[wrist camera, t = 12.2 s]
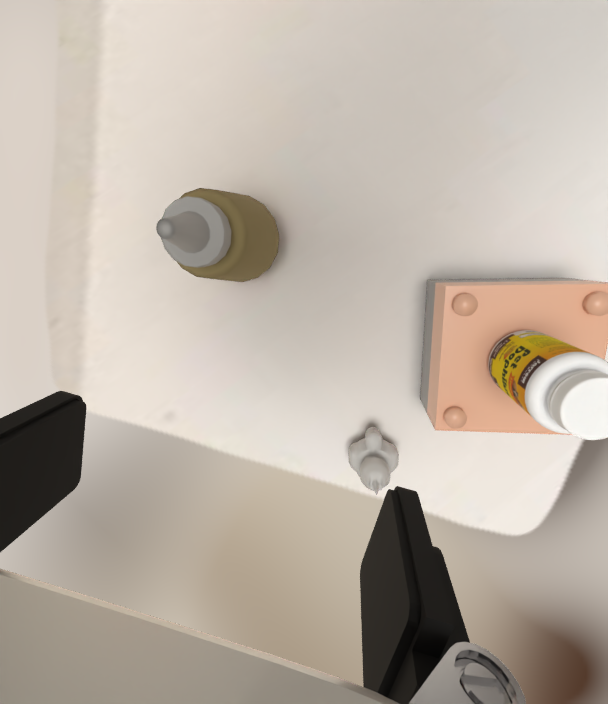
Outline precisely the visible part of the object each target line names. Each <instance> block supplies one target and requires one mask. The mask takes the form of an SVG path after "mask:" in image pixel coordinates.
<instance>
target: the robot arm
mask: <svg viewBox="0 0 608 704" xmlns="http://www.w3.org/2000/svg"><path fill="white" fill-rule="evenodd" d="M85 418H86V404H85V403H84V402H83V400H82V398H81V397H80V396H78V395H74V394H71V393H67V392H64V391H59V392H56V393H54V394H52V395H50V396H47V397H45V398H43V399H41V400H39V401H37V402H35V403H32V404H30V405H28V406H26V407H24V408H22V409H20V410H17V411H16V412H13V413H11V414H9V415H7V416H5V417H3V418H0V552H1V551H2V550H4V549H5V548H6V547H7V546H8V545H9V544H11V543H12V542H13V541H14V540H15V539H16V538H18V537H19V536H20V535H21V534H22V533H24V532H25V531H26V530H27V529H28V528H29V527H31V526H32V525H33V524H34V523H35V522H36V521H37V520H39V519H40V518H41V517H42V516H44V515H45V514H46V513H47V512H48V511H49V510H51V509H52V508H53V507H54V506H55V505H56V504H57V503H59V502H60V501H61V500H62V499H64V498H65V497H66V496H67V495H68V494H69V493H70V492H72V491H73V490H74V489H75V488H76V487H77V485H78V483H79V481H80V478H81V467H82V455H83V442H84V430H85ZM360 588H361V619H362V651H363V681H364V682H363V683H364V687H362V686H359V685H356V684H354V683H351V682H349V681H347V680H344V679H342V678H339V677H336V676H333V675H330V674H327V673H324V672H322V671H318V670H316V669H313V668H310V667H307V666H304V665H301V664H298V663H295V662H292V661H289V660H287V659H284V658H281V657H278V656H275V655H272V654H269V653H266V652H263V651H259V650H256V649H253V648H250V647H247V646H244V645H241V644H238V643H235V642H232V641H228V640H225V639H222V638H219V637H216V636H213V635H210V634H207V633H203V632H200V631H197V630H194V629H191V628H188V627H185V626H182V625H179V624H176V623H172V622H169V621H166V620H163V619H160V618H157V617H153V616H150V615H147V614H144V613H141V612H138V611H134V610H131V609H128V608H125V607H121V606H118V605H115V604H112V603H109V602H106V601H103V600H99V599H96V598H93V597H90V596H87V595H84V594H80V593H77V592H74V591H71V590H68V589H64V588H61V587H58V586H55V585H51V584H48V583H45V582H41V581H39V580H35V579H32V578H29V577H26V576H22V575H19V574H16V573H13V572H9V571H6V570H3V569H0V704H526V701H525V697H524V695H523V693H522V690H521V688H520V686H519V684H518V682H517V681H516V679H515V678H514V676H513V675H512V673H511V672H510V671H509V669H508V668H507V667H506V666H505V665H504V664H503V663H502V662H501V661H500V660H499V659H498V658H497V657H496V656H494V655H493V654H491V653H490V652H489V651H488V650H486V649H484V648H482V647H480V646H478V645H477V644H473V643H470V642H469V638H468V635H467V632H466V628H465V625H464V622H463V619H462V616H461V612H460V609H459V606H458V603H457V600H456V597H455V593H454V590H453V586H452V583H451V580H450V577H449V574H448V570H447V567H446V564H445V561H444V557H443V555H442V552H441V550H440V549H439V548H437V547H433V546H432V543H431V539H430V536H429V532H428V529H427V525H426V522H425V518H424V514H423V511H422V507H421V504H420V500H419V497H418V494H417V492H416V491H412V490H409V489H405V488H402V487H398V486H397V487H396V488H395V489H394V490H390V489H389V490H388V491H387V494H386V496H385V499H384V502H383V505H382V507H381V510H380V513H379V516H378V519H377V521H376V525H375V527H374V530H373V533H372V535H371V538H370V541H369V544H368V546H367V549H366V552H365V555H364V558H363V561H362V565H361V570H360Z"/></svg>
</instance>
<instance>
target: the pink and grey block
mask: <svg viewBox="0 0 608 704" xmlns="http://www.w3.org/2000/svg"><path fill="white" fill-rule="evenodd" d="M522 330H532V331H538V332H541V333H544V334H546V335H548V336H551V337H553V338H555V339H558V340H560V341H563V342H565V343H567V344H570V345H572V346H575V347H577V348H579V349H582V350H584V351H586V352H589V353H591V354H594V355H596V356H598V357H600V358H602V359H604V360H605V355H606V349H607V344H608V282H598V281H589V280H579V279H570V278H526V279H459V280H427V292H426V309H425V325H424V342H423V358H422V375H421V391H420V400H421V402H422V404H423V406H424V408H425V410H426V412H427V414H428V416H429V418H430V420H431V422H432V424H433V427H434V429H435V430H445V431H475V432H505V433H536V434H563V433H557V432H554V431H551V430H549V429H547V428H545V427H543V426H541V425H540V424H539V423H538V422H536V421H535V420H534V419H533V418H532V417H531V416H530V415H529V414H528V413H527V412H526V411H524V410H523V409H522V408H521V407H520V406H519V405H518V404H517V403H516V402H515V401H513V400H512V399H511V398H510V397H509V396H508V395H507V394H506V393H505V392H504V391H503V390H502V389H500V388H499V387H498V386H497V385H496V384H495V382H494V381H493V379H492V378H491V376H490V373H489V368H488V361H489V356H490V354H491V351H492V350H493V348H494V346H495V345H496V344H497V343H498V342H499V341H500V340H501V339H502V338H504V337H505V336H507V335H509V334H511V333H514V332H517V331H522ZM566 435H572V434H566Z"/></svg>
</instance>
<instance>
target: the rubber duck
mask: <svg viewBox="0 0 608 704" xmlns="http://www.w3.org/2000/svg"><path fill="white" fill-rule="evenodd" d="M398 456H399V454H398V451H397V448H396V447H395V446H394V445H393V444H391V443H388V442H387V441H386V440H384V439H382V436H381V433H380V431H379V430H378V429H377V428H376V427H370V428H368V429H367V431H366V433H365V438H364V439H361V440H359V441H358V442H356V443H353V444H352V445H351V446H350V448H349V464H350V466H351V467H352V468H353V469H354V470H355V471H356V472H357V474H358V475H359V476H360V479H361V482H362V483H363V484H364V485H365V486H366V487H367V488H368V489H370V490H373V491H375V493H376V494H377V493H378V491H379V490H382V488H383V487H385V486H386V485H387V484H388V483H389V481H390V473H391V472H392V471H394V470H395V469H396V467H397V466H398Z"/></svg>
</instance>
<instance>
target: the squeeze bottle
mask: <svg viewBox="0 0 608 704" xmlns="http://www.w3.org/2000/svg"><path fill="white" fill-rule="evenodd" d="M157 233H158V234H159V236H160V237H161V239H162V242H163V245H164V248H165V249H166V251H167V252H168V253H169V254H170V256H171V257H172V258H173V259H174V260H175V261H177V263H178V264H179V265H180V266H181V268H183V269H184V270H186V271H188V272H189V273H191V274H193V275H195V276H196V277H203V278H210V279H219V280H229V281H238V282H244V281H248V280H251V279H255V278H258V277H259V276H260V275H262V274H263V273H264V272H265V271H266V270H268V269H269V268H270V266H271V264H272V262H273V261H274V259H275V257H276V255H277V253H278V243H279V233H278V230H277V226H276V222H275V219H274V217H273V216H272V215H271V213H270V212H269V211H268V209H267V208H266V207H265V205H264V204H262V203H260V202H259V201H257V200H255V199H253V198H252V197H250V196H246V195H241V194H236V193H230V192H225V191H219V190H212V189H203V188H199V189H196V190H193V191H190V192H187V193H185V194H183V195H182V196H181V197H180V198H179V199H177V200H175V201H174V202H173V203H172V204H171V205H170V206H169V207H168V208H167V209H166V210H165V212H164V215H163V217H162V219H161V220H160V221H159V222H158V223H157Z"/></svg>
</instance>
